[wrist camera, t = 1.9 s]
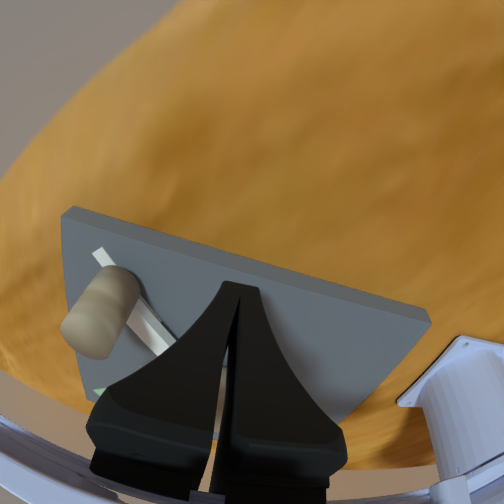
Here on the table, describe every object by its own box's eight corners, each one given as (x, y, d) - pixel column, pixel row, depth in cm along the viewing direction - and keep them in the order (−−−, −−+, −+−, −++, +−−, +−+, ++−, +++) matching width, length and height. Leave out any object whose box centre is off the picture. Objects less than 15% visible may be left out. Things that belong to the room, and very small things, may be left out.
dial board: (425, 309, 16) (432, 324, 15) (302, 442, 25) (302, 454, 24) (73, 205, 14) (59, 216, 13) (91, 389, 23) (86, 399, 22)
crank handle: (269, 400, 18) (266, 453, 15) (205, 412, 20) (196, 459, 17) (140, 245, 13) (101, 302, 10) (76, 282, 14) (39, 332, 11)
